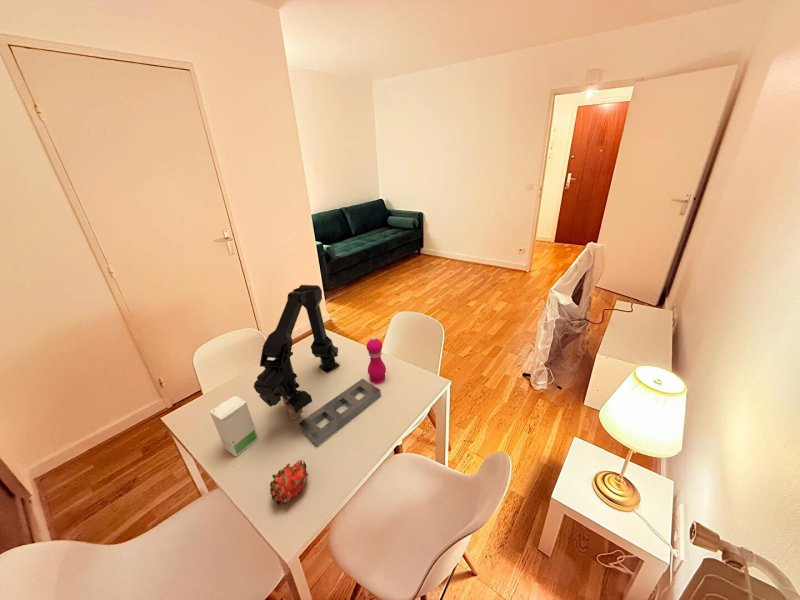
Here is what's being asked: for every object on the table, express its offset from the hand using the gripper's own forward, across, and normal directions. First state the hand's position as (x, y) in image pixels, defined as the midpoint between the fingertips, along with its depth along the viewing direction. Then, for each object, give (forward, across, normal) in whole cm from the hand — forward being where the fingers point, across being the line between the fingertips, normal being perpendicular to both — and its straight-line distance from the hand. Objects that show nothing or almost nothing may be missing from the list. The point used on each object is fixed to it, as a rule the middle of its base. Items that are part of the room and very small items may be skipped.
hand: (293, 409), depth 103 cm
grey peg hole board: (+4, +11, +12) cm, 17 cm away
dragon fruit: (+4, +22, -14) cm, 26 cm away
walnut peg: (+2, 0, 0) cm, 2 cm away
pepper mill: (+4, +8, +32) cm, 33 cm away
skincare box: (+4, -4, -17) cm, 18 cm away
